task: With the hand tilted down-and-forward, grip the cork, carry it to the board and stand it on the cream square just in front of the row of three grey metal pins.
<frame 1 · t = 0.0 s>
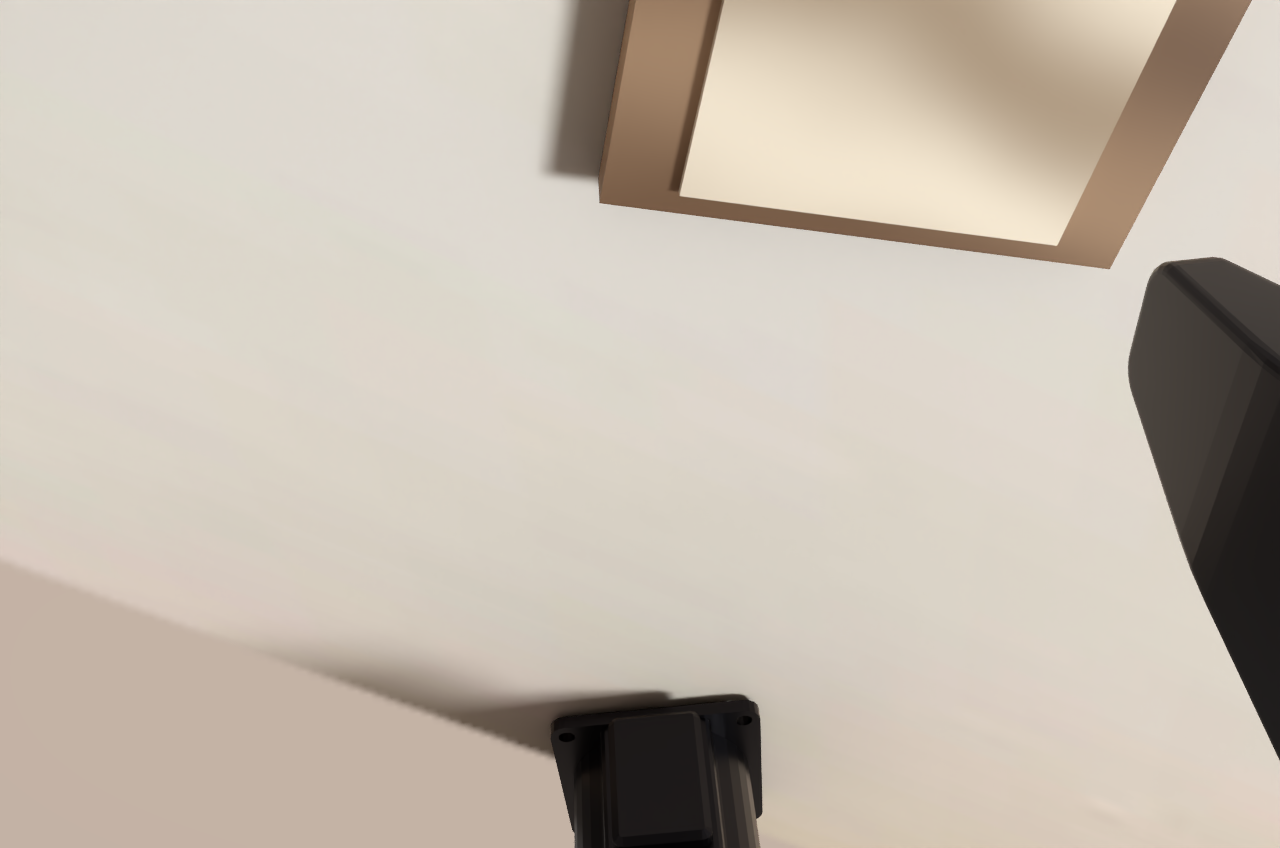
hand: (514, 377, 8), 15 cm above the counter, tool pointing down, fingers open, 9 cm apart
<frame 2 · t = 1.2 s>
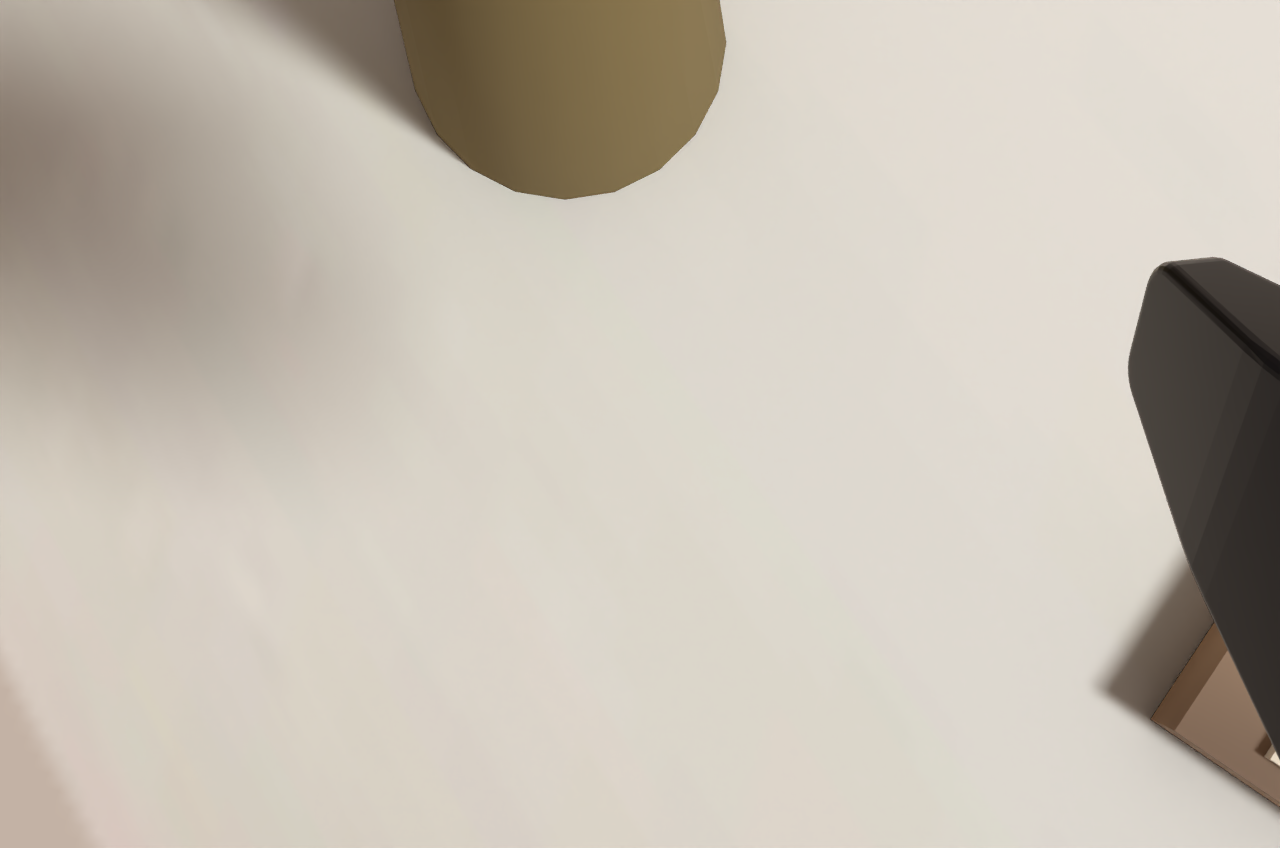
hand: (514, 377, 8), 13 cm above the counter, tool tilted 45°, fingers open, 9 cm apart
cork: (567, 46, 22), on the counter
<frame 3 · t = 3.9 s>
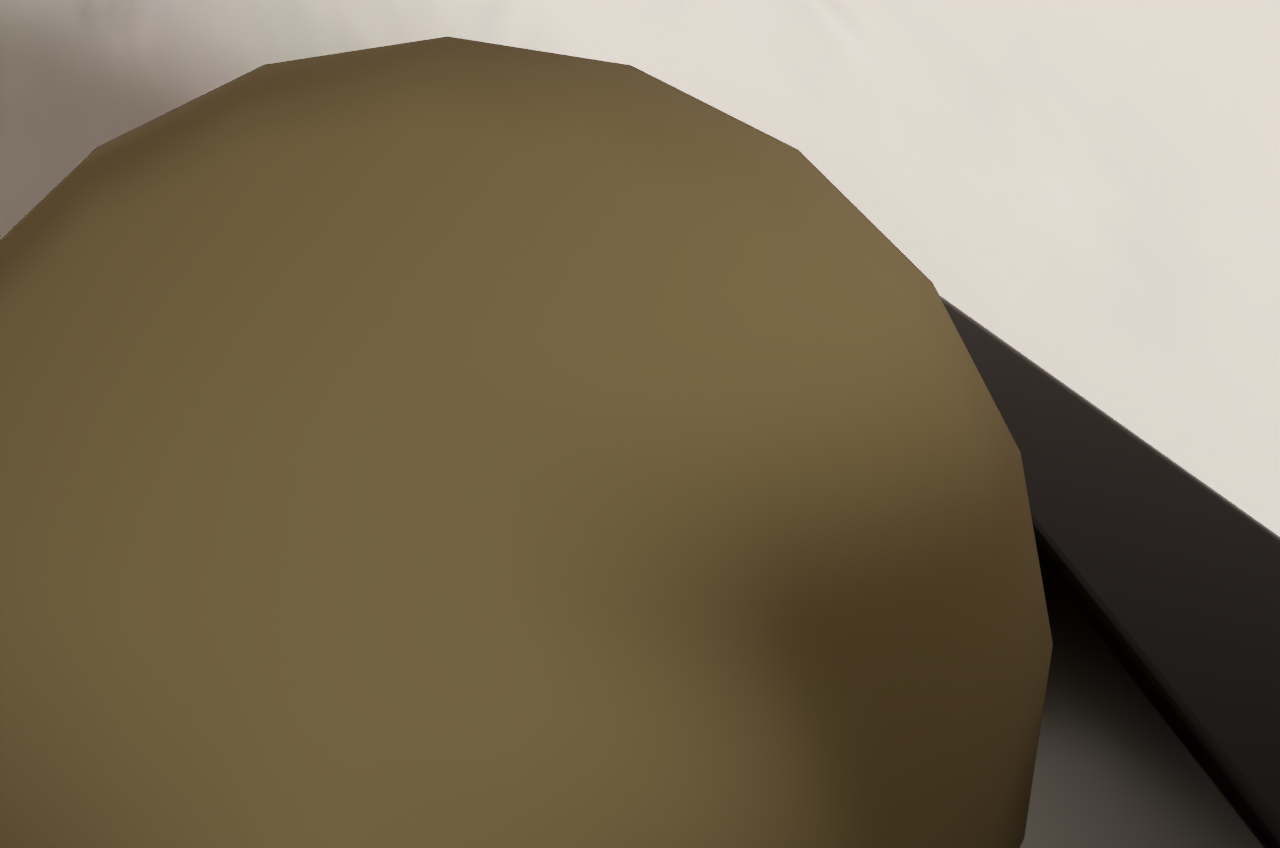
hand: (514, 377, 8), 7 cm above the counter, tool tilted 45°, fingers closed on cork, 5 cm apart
cork: (591, 535, 15), on the counter, touching gripper
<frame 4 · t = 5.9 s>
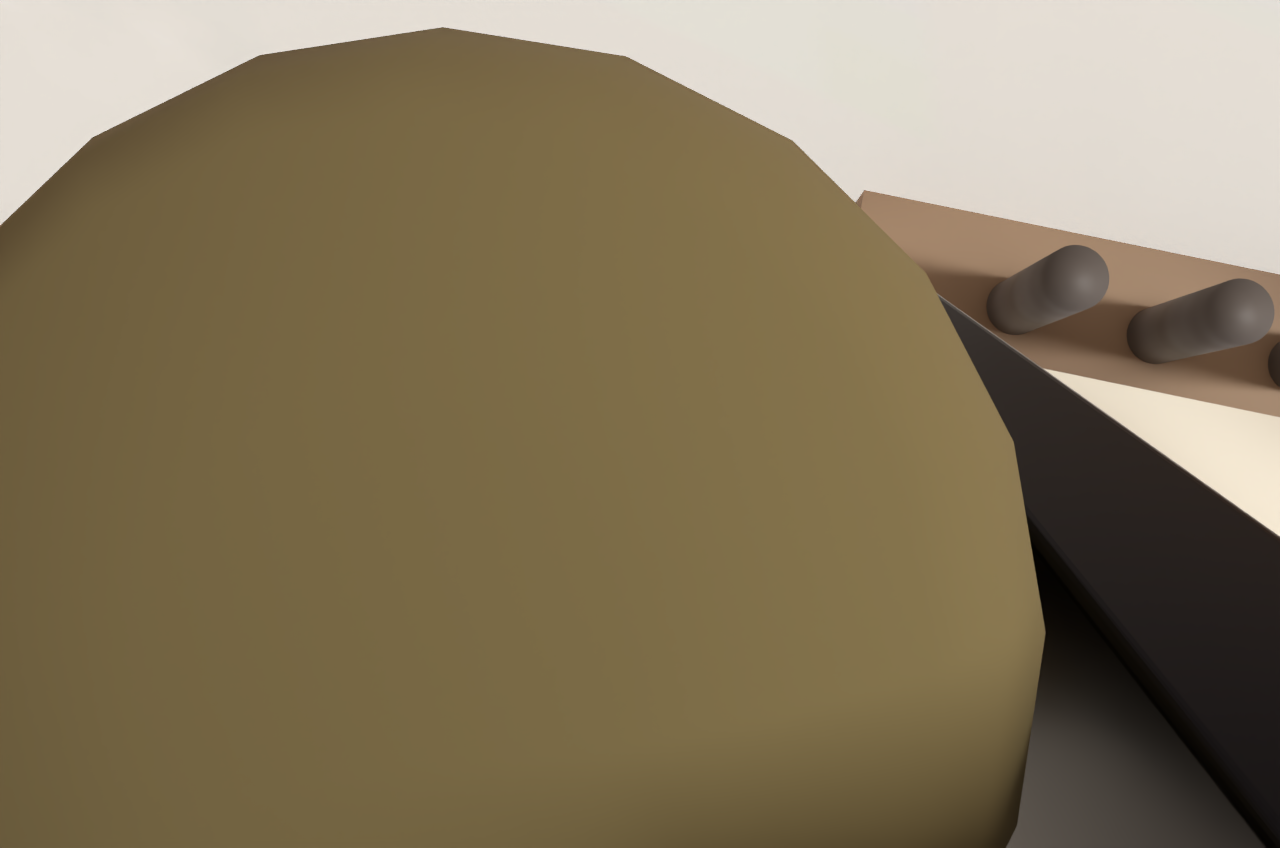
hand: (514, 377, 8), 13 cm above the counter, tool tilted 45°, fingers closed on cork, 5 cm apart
pin board: (1090, 555, 21), on the counter
cork: (586, 530, 15), point 6 cm above the counter, touching gripper
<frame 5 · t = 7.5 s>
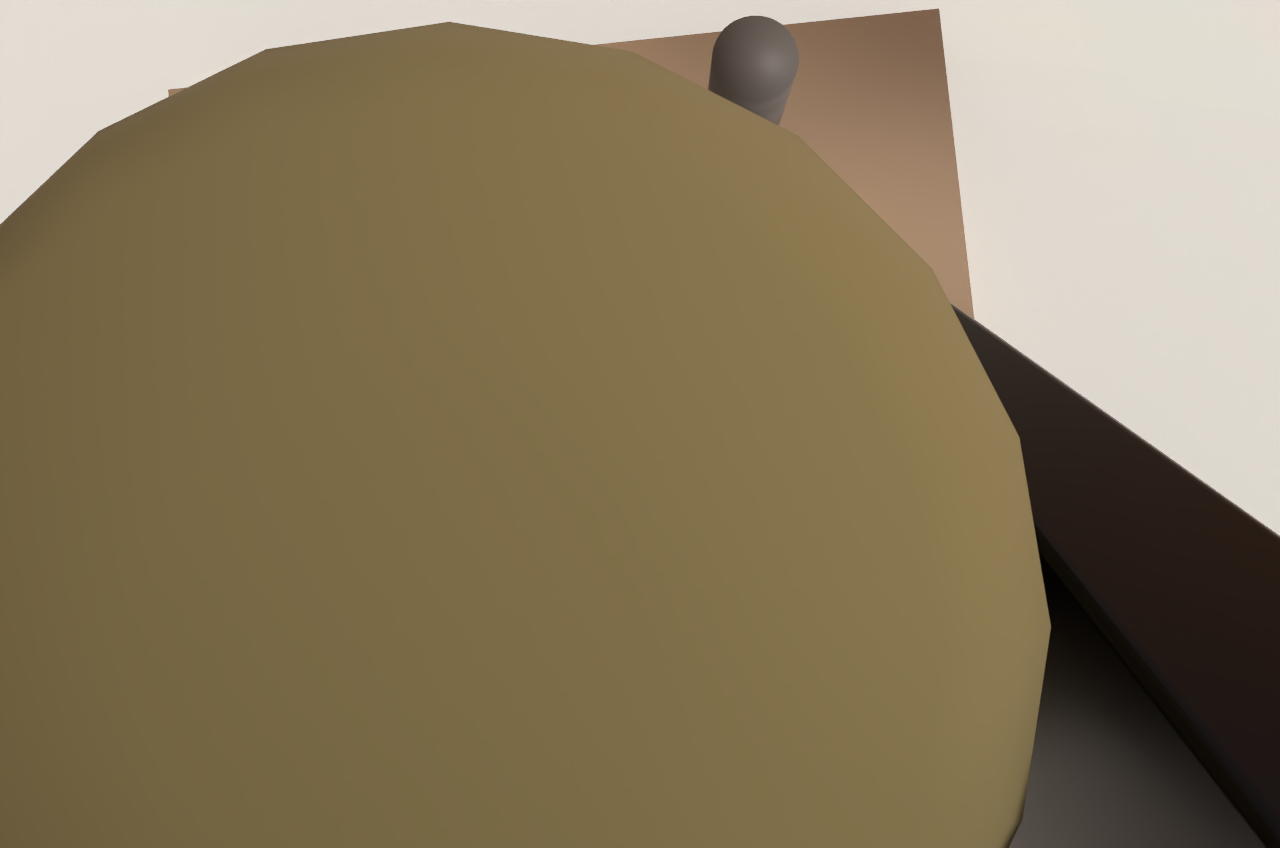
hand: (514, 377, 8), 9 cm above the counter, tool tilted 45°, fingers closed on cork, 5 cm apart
pin board: (593, 437, 17), on the counter
cork: (585, 528, 15), point 2 cm above the counter, touching gripper
when the fingers open (8 cm above the counter, at t = 8.2 s): cork stays where it is, resting on pin board.
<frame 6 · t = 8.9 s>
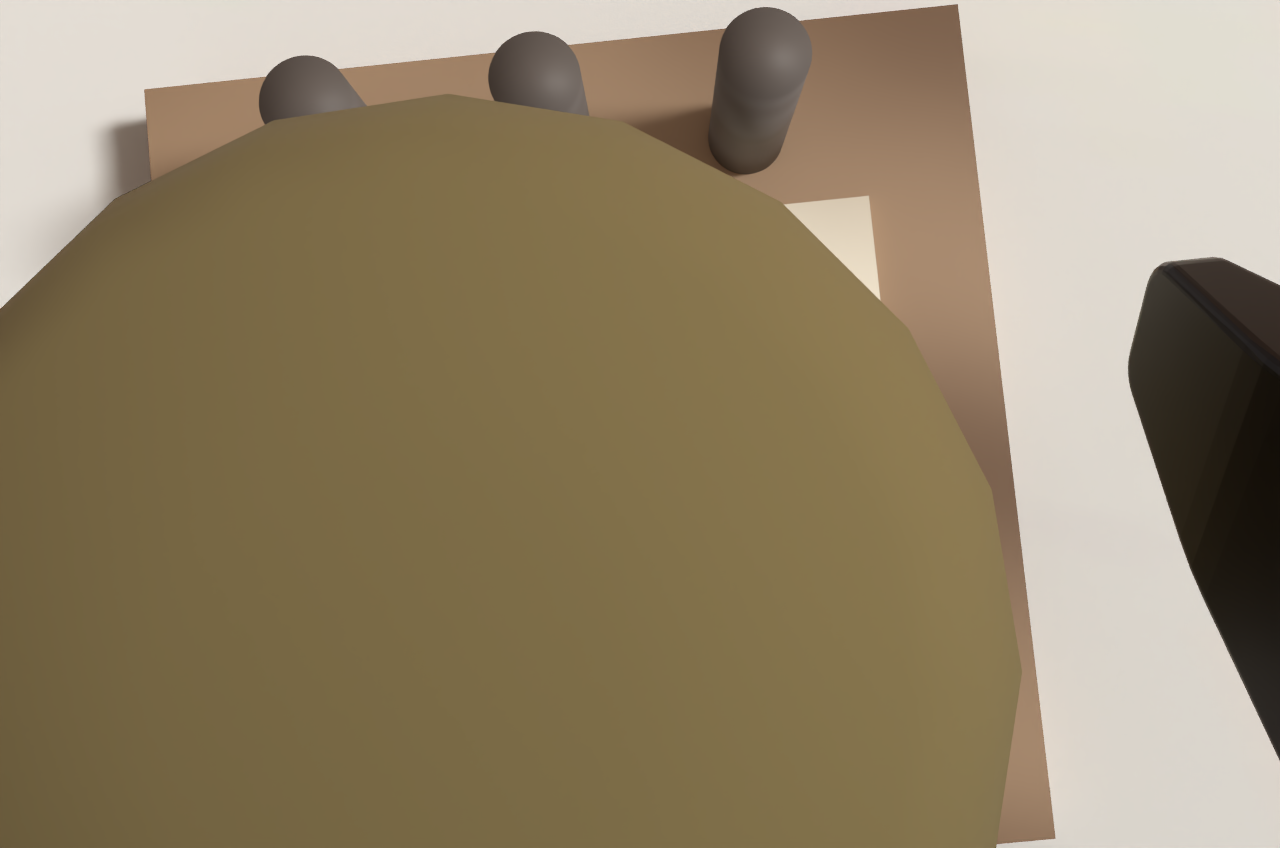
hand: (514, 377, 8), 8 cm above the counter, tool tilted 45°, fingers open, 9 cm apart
pin board: (592, 456, 16), on the counter
cork: (589, 545, 15), point 1 cm above the counter, touching pin board
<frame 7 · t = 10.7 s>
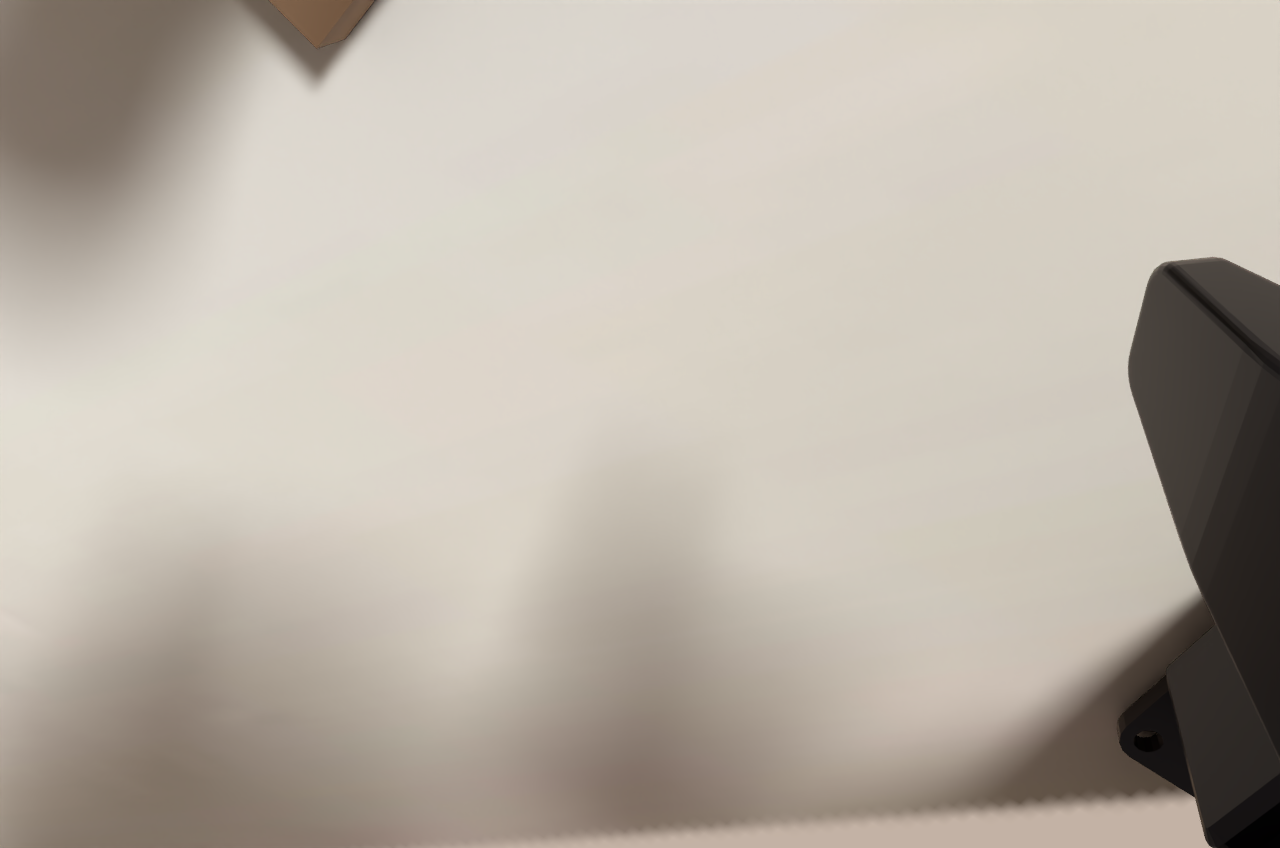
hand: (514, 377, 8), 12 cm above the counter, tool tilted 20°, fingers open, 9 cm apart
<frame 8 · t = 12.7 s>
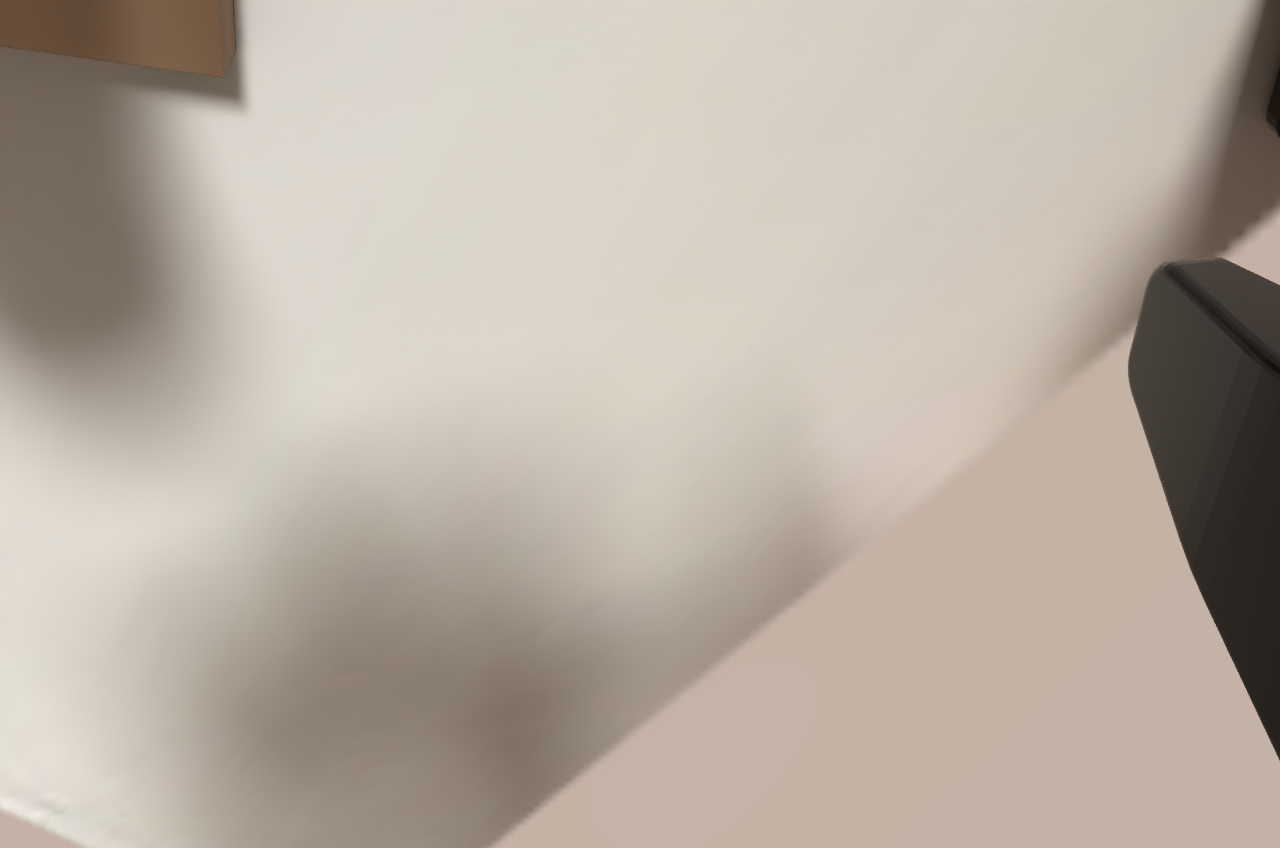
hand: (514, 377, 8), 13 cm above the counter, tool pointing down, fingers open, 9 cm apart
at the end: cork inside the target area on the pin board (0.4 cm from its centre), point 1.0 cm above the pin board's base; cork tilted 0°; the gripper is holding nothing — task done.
